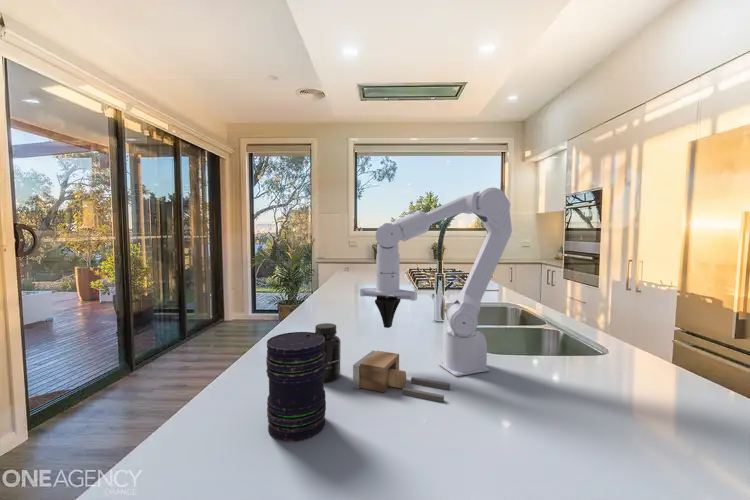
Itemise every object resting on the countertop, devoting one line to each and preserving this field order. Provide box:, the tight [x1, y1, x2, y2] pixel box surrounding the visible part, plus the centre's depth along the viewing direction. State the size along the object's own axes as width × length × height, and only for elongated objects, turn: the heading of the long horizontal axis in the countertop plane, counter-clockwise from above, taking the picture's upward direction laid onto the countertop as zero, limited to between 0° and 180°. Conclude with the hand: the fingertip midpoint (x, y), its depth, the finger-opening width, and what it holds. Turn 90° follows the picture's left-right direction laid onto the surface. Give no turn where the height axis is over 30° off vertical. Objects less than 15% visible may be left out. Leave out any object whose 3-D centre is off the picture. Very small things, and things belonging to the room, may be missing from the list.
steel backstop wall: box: [352, 350, 377, 390], centre depth 77 cm, size 2×10×5 cm, turn 156°
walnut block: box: [360, 350, 400, 393], centre depth 76 cm, size 6×9×5 cm, turn 156°
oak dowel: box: [388, 368, 407, 390], centre depth 74 cm, size 7×4×4 cm, turn 68°
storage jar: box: [266, 331, 327, 443], centre depth 58 cm, size 10×10×15 cm
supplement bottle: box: [314, 322, 342, 383], centre depth 78 cm, size 7×7×12 cm
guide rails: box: [401, 376, 451, 403], centre depth 71 cm, size 8×7×1 cm
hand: (387, 326), depth 85 cm, fingers closed
